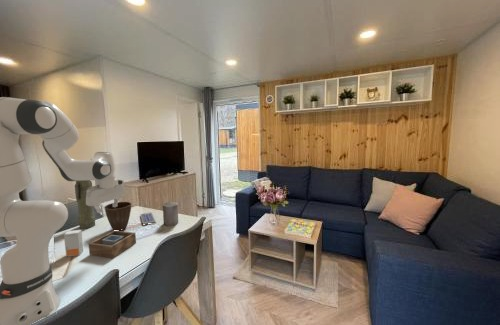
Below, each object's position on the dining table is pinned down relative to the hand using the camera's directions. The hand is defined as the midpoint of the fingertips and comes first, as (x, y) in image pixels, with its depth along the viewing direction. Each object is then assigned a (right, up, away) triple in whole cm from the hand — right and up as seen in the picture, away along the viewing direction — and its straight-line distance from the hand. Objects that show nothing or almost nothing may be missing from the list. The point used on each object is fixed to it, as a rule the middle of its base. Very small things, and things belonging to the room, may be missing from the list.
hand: (107, 209), depth 114 cm
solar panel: (0, -17, +45) cm, 49 cm away
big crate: (+1, -22, +4) cm, 22 cm away
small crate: (+1, -21, +3) cm, 21 cm away
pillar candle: (+19, -18, +38) cm, 46 cm away
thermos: (-35, -19, +33) cm, 52 cm away
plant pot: (-11, -19, +29) cm, 36 cm away
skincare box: (-16, -23, -2) cm, 28 cm away
